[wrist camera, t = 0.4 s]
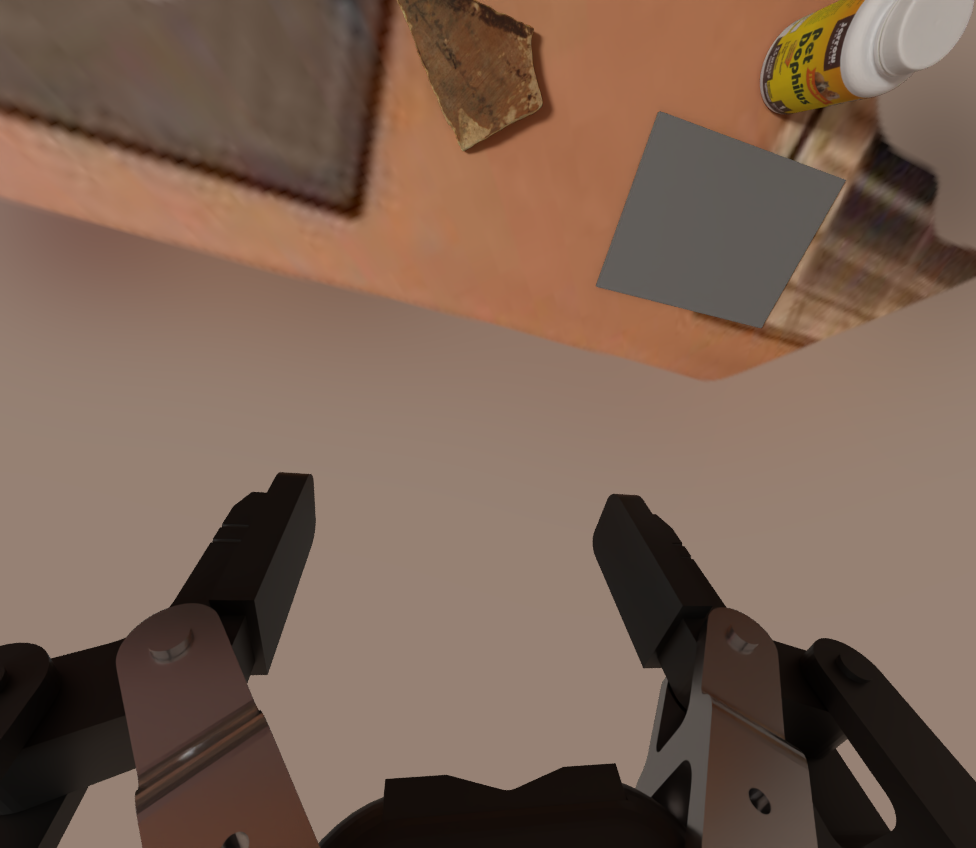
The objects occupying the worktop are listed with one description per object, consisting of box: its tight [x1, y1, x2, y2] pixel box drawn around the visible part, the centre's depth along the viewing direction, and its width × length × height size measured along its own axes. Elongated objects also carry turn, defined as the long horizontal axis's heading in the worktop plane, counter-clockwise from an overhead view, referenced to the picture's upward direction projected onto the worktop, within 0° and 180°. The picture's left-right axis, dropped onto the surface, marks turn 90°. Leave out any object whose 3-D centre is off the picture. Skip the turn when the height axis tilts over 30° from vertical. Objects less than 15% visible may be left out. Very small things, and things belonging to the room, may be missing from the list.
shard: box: [397, 0, 543, 151], centre depth 27 cm, size 11×8×2 cm
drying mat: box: [596, 111, 846, 328], centre depth 35 cm, size 13×18×1 cm
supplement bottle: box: [760, 0, 974, 114], centre depth 26 cm, size 6×6×10 cm
